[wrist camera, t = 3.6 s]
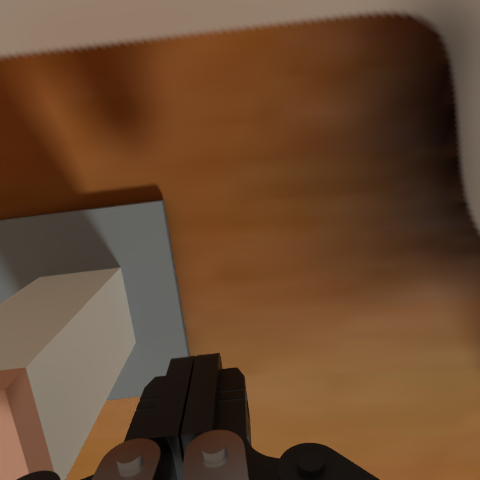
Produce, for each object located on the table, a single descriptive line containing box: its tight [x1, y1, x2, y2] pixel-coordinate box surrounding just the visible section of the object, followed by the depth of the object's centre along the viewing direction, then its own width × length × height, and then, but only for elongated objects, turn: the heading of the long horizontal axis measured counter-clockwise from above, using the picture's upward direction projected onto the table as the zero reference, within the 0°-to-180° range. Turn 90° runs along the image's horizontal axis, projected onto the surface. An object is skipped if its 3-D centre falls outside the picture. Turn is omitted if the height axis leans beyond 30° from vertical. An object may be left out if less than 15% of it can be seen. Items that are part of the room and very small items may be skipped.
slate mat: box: [0, 200, 190, 400], centre depth 20 cm, size 18×10×1 cm, turn 97°
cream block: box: [0, 267, 136, 480], centre depth 15 cm, size 4×4×10 cm
